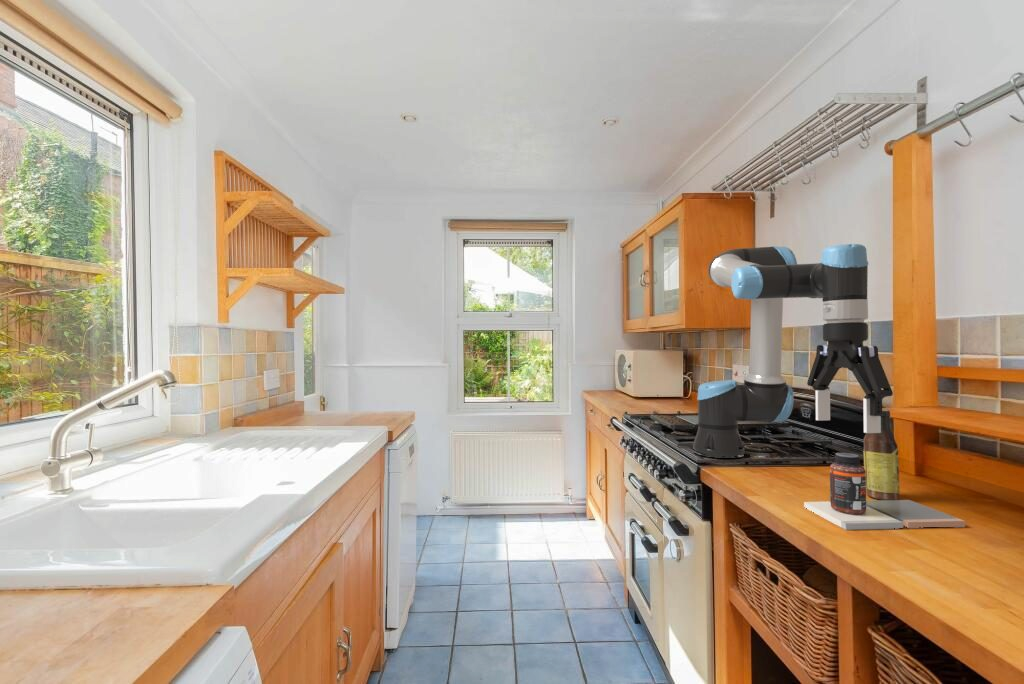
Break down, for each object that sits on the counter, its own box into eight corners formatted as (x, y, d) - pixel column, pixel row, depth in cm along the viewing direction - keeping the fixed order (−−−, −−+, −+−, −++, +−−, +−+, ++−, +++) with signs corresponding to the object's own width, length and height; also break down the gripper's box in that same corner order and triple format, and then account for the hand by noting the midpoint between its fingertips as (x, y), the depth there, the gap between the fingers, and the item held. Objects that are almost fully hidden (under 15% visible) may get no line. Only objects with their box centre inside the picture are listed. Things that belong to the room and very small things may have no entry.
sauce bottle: (906, 502, 103) (904, 412, 103) (874, 501, 104) (872, 411, 104) (889, 493, 109) (887, 408, 109) (858, 492, 110) (857, 407, 111)
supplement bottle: (868, 517, 91) (867, 459, 91) (831, 512, 94) (830, 456, 94) (864, 508, 96) (863, 453, 97) (829, 503, 99) (828, 450, 99)
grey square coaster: (859, 506, 101) (859, 500, 101) (909, 505, 101) (909, 499, 101) (908, 528, 89) (908, 522, 89) (965, 527, 89) (965, 520, 89)
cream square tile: (804, 507, 101) (804, 501, 101) (854, 506, 101) (854, 500, 101) (845, 529, 88) (845, 523, 88) (903, 528, 89) (902, 522, 89)
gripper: (789, 324, 108) (790, 416, 108) (875, 319, 83) (876, 439, 83) (821, 323, 108) (822, 415, 108) (917, 319, 83) (918, 438, 83)
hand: (845, 426), depth 96 cm, fingers open, 13 cm apart
